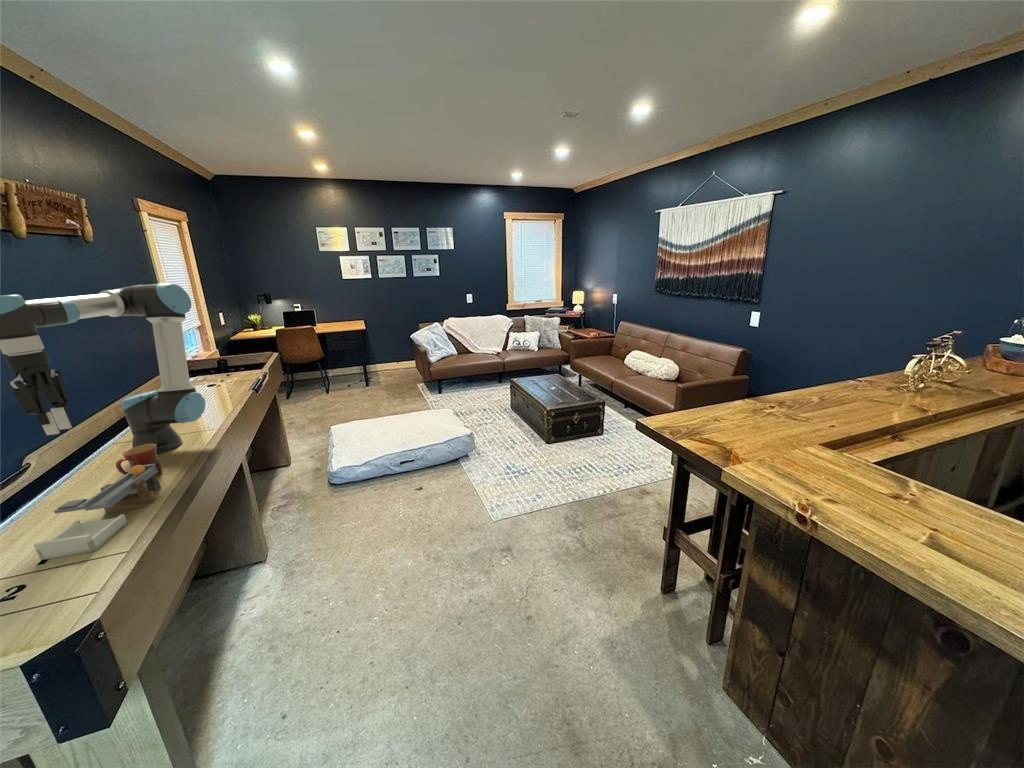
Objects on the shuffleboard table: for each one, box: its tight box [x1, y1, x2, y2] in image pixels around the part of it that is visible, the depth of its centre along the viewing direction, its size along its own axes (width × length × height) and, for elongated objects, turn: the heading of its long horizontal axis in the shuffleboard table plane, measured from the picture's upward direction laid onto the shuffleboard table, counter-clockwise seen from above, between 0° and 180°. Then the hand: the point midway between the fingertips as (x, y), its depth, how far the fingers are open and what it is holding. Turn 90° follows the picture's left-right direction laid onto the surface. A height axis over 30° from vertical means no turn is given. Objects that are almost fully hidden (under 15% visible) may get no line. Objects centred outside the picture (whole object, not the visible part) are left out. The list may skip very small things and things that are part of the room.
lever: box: [53, 464, 158, 515], centre depth 117 cm, size 20×14×3 cm
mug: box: [115, 444, 163, 477], centre depth 135 cm, size 12×9×10 cm
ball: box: [130, 465, 146, 476], centre depth 124 cm, size 3×3×3 cm
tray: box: [33, 513, 129, 561], centre depth 104 cm, size 12×12×4 cm
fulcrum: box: [100, 474, 162, 513], centre depth 123 cm, size 12×11×8 cm
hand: (59, 431), depth 115 cm, fingers open, 3 cm apart
